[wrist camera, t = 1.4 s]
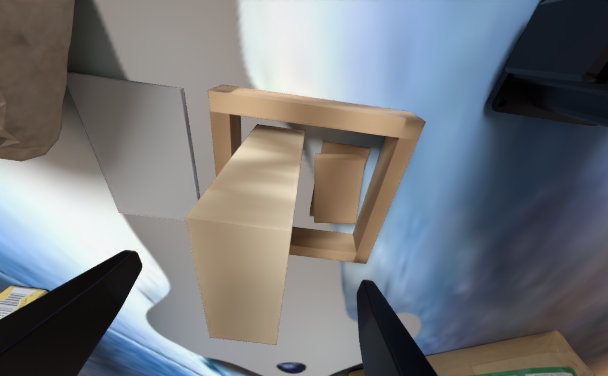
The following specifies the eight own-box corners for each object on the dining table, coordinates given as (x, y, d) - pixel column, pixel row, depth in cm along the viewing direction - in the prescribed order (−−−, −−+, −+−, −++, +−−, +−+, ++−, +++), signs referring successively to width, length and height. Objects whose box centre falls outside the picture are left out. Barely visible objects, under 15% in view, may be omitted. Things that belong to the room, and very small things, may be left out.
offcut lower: (367, 143, 15) (370, 149, 14) (346, 212, 18) (348, 221, 17) (323, 137, 15) (323, 142, 14) (310, 207, 18) (309, 215, 17)
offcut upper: (362, 153, 14) (364, 160, 13) (354, 214, 17) (355, 223, 16) (315, 153, 14) (314, 160, 14) (314, 213, 17) (314, 222, 16)
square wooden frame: (411, 112, 13) (425, 121, 11) (361, 244, 19) (366, 263, 17) (222, 84, 13) (207, 90, 11) (231, 228, 19) (223, 246, 17)
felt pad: (183, 88, 13) (180, 89, 13) (203, 220, 18) (201, 223, 18) (68, 72, 13) (61, 72, 12) (122, 209, 18) (119, 212, 18)
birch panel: (304, 130, 14) (291, 231, 6) (293, 216, 18) (276, 345, 10) (257, 124, 14) (185, 217, 6) (255, 211, 18) (209, 337, 10)
